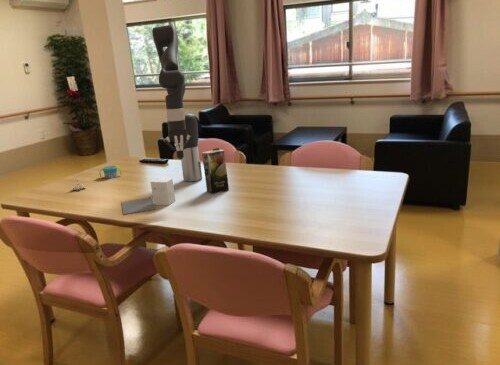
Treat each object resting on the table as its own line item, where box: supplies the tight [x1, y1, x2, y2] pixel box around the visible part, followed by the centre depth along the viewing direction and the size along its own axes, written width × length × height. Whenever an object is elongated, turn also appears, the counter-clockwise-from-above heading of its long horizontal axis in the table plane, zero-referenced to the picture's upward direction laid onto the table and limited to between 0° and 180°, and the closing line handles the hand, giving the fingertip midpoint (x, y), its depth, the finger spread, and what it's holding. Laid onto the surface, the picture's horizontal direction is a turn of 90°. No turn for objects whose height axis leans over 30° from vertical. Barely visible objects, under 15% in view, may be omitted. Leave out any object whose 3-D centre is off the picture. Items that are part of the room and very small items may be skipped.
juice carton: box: [201, 147, 230, 195], centre depth 189 cm, size 20×10×6 cm
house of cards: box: [71, 179, 86, 192], centre depth 204 cm, size 9×9×8 cm
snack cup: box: [99, 165, 122, 179], centre depth 226 cm, size 11×8×7 cm
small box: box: [150, 178, 176, 206], centre depth 178 cm, size 8×6×10 cm
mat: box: [121, 196, 156, 216], centre depth 178 cm, size 13×18×1 cm
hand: (180, 158), depth 177 cm, fingers closed
